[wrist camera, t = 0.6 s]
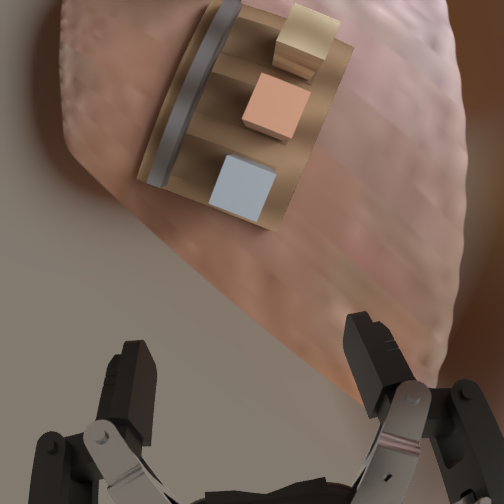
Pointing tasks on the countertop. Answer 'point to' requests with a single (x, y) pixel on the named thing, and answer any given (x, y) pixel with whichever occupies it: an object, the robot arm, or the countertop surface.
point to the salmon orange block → (275, 107)
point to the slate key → (242, 187)
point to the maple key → (304, 41)
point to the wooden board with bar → (234, 109)
